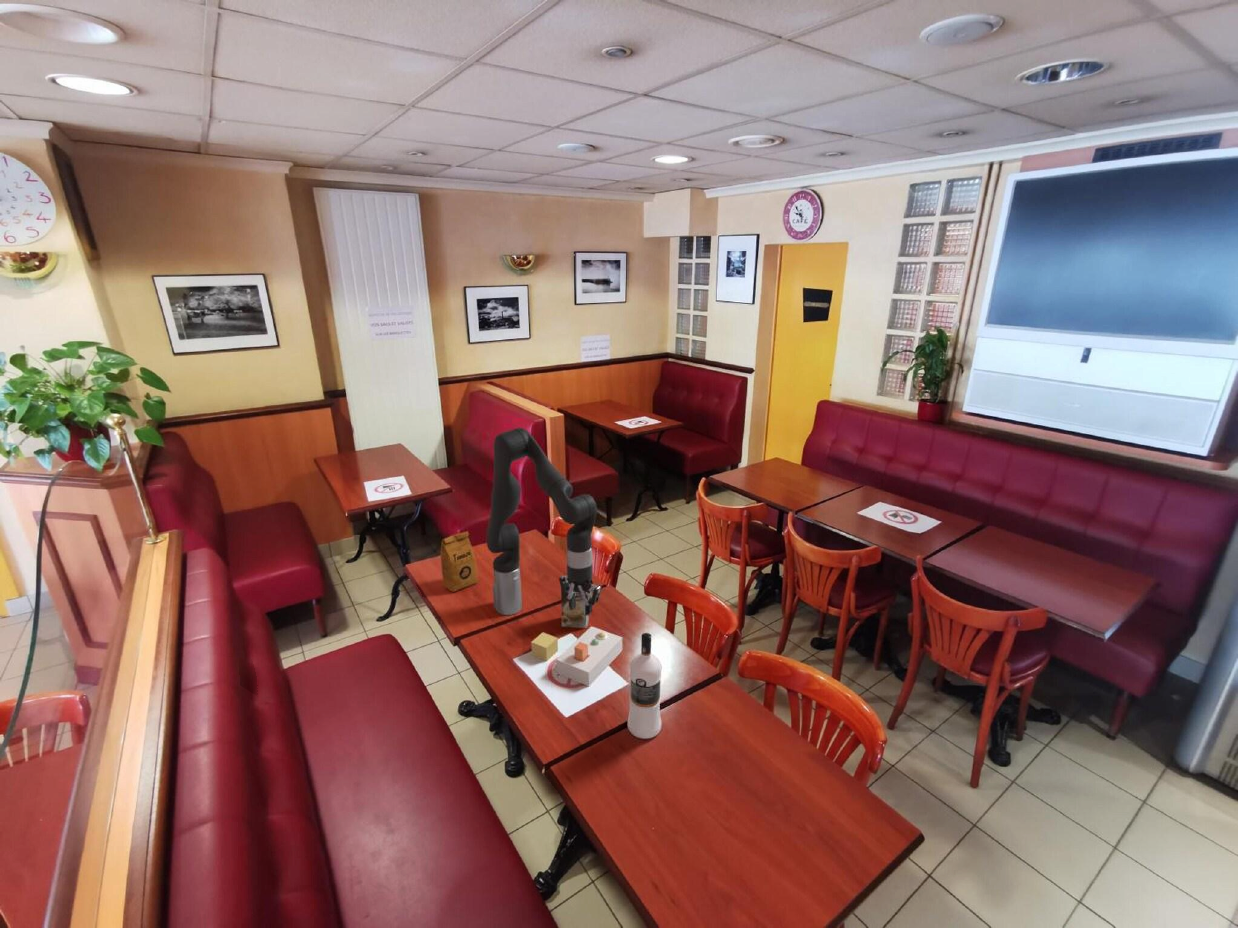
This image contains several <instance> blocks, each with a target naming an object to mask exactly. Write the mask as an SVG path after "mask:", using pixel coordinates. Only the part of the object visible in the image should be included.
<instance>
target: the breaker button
mask: <svg viewBox="0 0 1238 928" xmlns="http://www.w3.org/2000/svg"><path fill="white" fill-rule="evenodd" d="M574 651H575V659H576V660H579V661H581V662H584V661H585V660H586V659H587V658H588V645H587V644H584V643H582V642H579V643H578V644H577V645H576V646H575V647H574Z"/></svg>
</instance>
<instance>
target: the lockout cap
mask: <svg viewBox="0 0 1238 928" xmlns="http://www.w3.org/2000/svg"><path fill="white" fill-rule="evenodd" d="M558 640H559V639H558V637H556V636H553V635H551V634H548V633H546V632H541V633H540V634H539V635H537V637H535V638H534V639H533V640H532V641H531V642H530V643H531V655H532V656H534V657H536V658H539V659H541V660H543V661H545V662H547V661H549V660H550V659H551V658H553V656H554V655H555V654H556V653H557V652H559V641H558Z"/></svg>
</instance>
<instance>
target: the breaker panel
mask: <svg viewBox="0 0 1238 928" xmlns="http://www.w3.org/2000/svg"><path fill="white" fill-rule="evenodd" d="M579 642H582V643H584V644H587V645H588V658H587V659H586V660H585V661H584V662H581V661H579V660H576V659H575V651H574V647H575V646H576V645H577V644H578V643H579ZM622 651H623V637H622V636H619V635H617V634H614V633H612V632H608V631H605V630H603V629H601V628H598V627H594V626H590V627H589V628H588V629H587V630H586V631H584V633H582V634H581V636H579V637H578V638H577V639H576V640H575V641H574V642H573V643H572V644H571V645H570V646H569V647H568V648H567V649H566V650H565V651H563V652H562V653H561V654H560V655H559V656H558V657H557V658H555V666H556V674H558V675H560V676H563V677H565V678H568V679H570V680H573V681H575V682H577V683H580V684H581V685H582V684H583V685H585V686H587V687H590V686H591V685H592V684H593V683H594V682H595V681H596V680H597V678H598V677H600V675H602V673H603V672H605V670H606V669H607V668H608V667H609V666H610V664H612V662H613V661H614V660H615V659H616V658H617V657H618V656H619V655H620V653H622Z"/></svg>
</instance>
